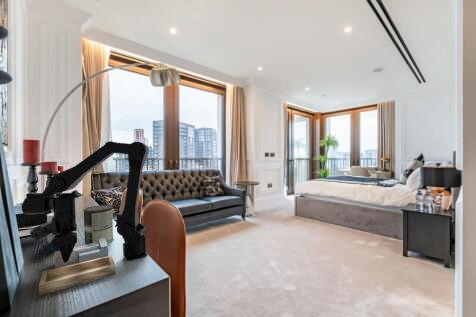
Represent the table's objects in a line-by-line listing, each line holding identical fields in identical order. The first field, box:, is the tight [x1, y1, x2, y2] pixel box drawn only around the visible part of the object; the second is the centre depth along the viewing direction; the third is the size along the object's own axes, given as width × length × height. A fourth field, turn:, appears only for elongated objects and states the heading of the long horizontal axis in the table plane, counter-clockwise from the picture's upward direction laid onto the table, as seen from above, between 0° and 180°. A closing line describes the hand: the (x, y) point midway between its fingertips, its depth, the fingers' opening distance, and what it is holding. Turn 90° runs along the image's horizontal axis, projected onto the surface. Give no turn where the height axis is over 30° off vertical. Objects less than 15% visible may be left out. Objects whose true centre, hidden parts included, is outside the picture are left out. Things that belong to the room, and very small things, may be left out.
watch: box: [42, 233, 60, 255], centre depth 86 cm, size 6×8×11 cm
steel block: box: [54, 242, 99, 269], centre depth 77 cm, size 12×4×4 cm, turn 130°
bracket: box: [78, 237, 109, 263], centre depth 79 cm, size 8×10×4 cm
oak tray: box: [38, 254, 117, 297], centre depth 66 cm, size 17×9×3 cm, turn 125°
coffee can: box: [82, 204, 114, 245], centre depth 94 cm, size 10×10×14 cm
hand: (66, 259), depth 75 cm, fingers closed on steel block, 4 cm apart
